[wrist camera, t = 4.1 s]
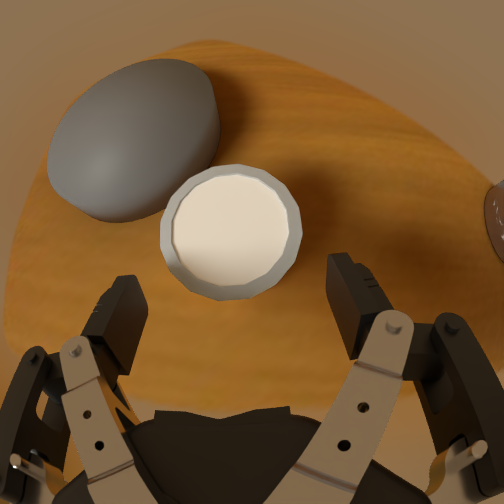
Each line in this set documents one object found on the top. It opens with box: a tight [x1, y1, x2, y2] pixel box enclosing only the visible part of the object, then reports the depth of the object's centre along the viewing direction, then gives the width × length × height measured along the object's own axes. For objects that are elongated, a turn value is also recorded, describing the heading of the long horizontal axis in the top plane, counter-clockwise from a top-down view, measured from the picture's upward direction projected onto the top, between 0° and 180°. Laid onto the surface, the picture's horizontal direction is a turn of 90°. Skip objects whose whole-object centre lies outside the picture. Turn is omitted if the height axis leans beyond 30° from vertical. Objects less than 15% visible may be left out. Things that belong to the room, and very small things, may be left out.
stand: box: [47, 59, 221, 223], centre depth 21 cm, size 16×16×4 cm
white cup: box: [160, 164, 303, 301], centre depth 16 cm, size 7×7×7 cm
